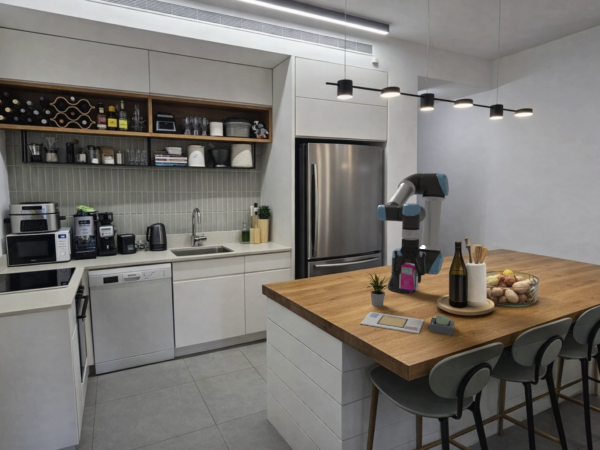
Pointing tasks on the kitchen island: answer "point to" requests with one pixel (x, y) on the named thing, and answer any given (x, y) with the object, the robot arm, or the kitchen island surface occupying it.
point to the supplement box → (408, 277)
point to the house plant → (377, 291)
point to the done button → (442, 320)
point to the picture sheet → (393, 322)
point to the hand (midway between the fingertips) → (408, 288)
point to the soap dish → (441, 327)
